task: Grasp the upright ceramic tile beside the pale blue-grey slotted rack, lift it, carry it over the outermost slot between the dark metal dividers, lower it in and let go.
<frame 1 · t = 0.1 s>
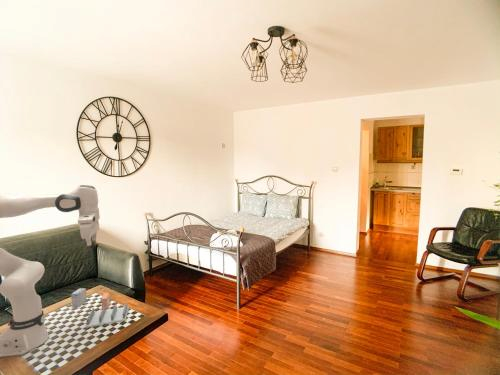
hand: (91, 242, 138), 48 cm above the table, fingers open, 8 cm apart
rack: (108, 317, 154), on the table
medicine box: (79, 304, 170), on the table
tile: (106, 306, 167), on the table
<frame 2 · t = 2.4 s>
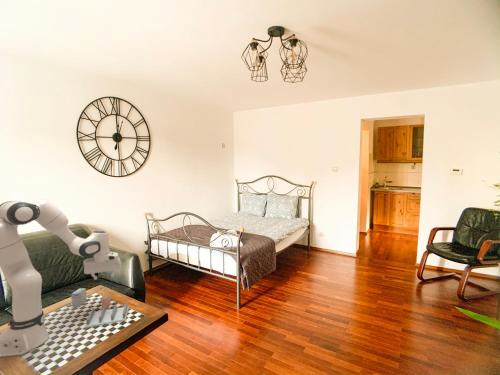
hand: (104, 278, 165), 18 cm above the table, fingers open, 8 cm apart
nothing on the table moved.
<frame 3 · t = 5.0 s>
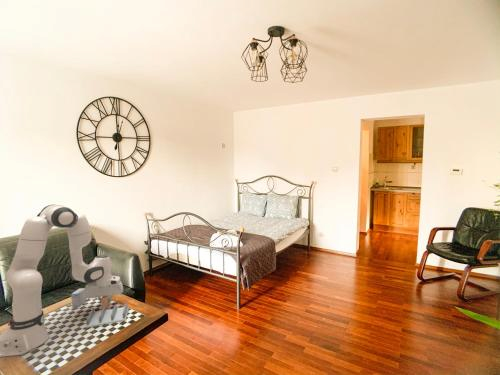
hand: (105, 302, 166), 3 cm above the table, fingers closed on tile, 3 cm apart
tile: (106, 306, 167), on the table, touching gripper
everything else where it was.
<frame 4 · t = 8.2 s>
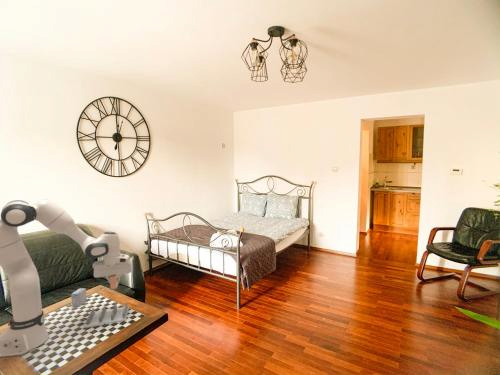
hand: (114, 281, 157), 19 cm above the table, fingers closed on tile, 3 cm apart
tile: (114, 286, 157), point 17 cm above the table, touching gripper
everything else where it was.
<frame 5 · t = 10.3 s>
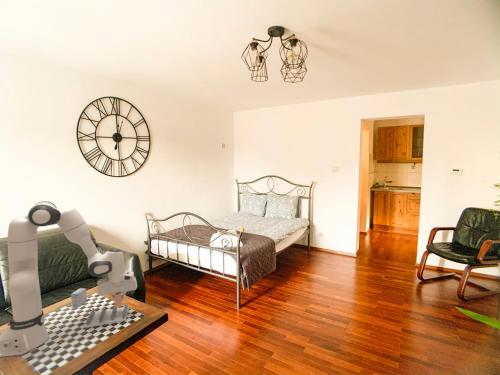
hand: (119, 299, 155), 10 cm above the table, fingers closed on tile, 3 cm apart
tile: (119, 303, 156), point 7 cm above the table, touching gripper
everything else where it was.
when the fingers open (5 cm above the table, at t = 11.9 s): tile drops 1 cm, resting on rack.
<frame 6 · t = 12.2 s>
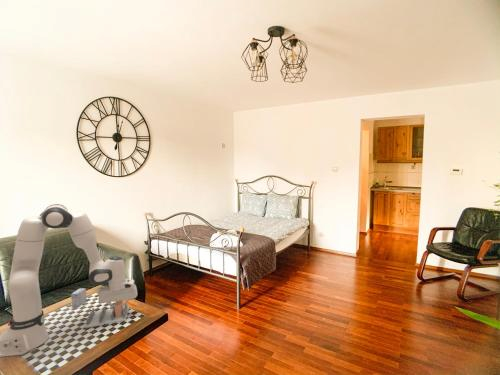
hand: (119, 307, 156), 5 cm above the table, fingers open, 6 cm apart
tile: (119, 313, 156), point 1 cm above the table, touching rack
everything else where it was.
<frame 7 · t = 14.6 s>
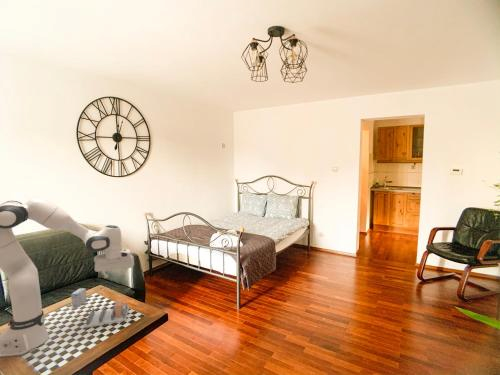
hand: (115, 276, 154), 24 cm above the table, fingers open, 8 cm apart
nothing on the table moved.
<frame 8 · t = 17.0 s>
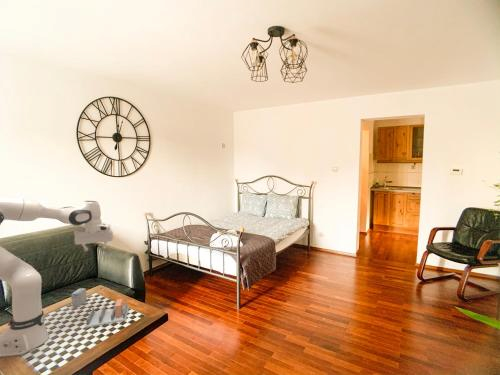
hand: (95, 249, 161), 37 cm above the table, fingers open, 8 cm apart
nothing on the table moved.
at the end: tile 0.1 cm from the target spot on the rack, point 1.0 cm above the rack's base; tile tilted 0°; the gripper is holding nothing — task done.
